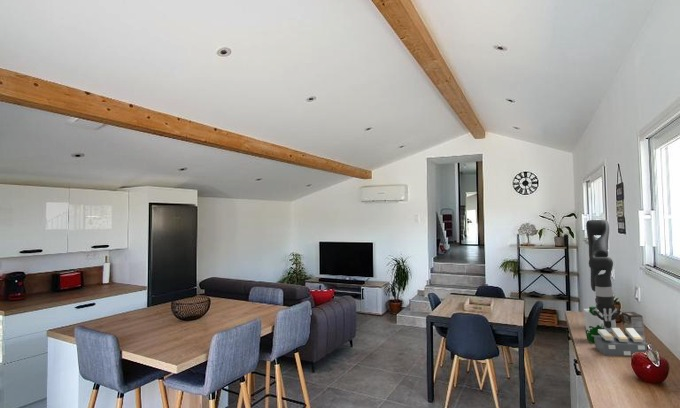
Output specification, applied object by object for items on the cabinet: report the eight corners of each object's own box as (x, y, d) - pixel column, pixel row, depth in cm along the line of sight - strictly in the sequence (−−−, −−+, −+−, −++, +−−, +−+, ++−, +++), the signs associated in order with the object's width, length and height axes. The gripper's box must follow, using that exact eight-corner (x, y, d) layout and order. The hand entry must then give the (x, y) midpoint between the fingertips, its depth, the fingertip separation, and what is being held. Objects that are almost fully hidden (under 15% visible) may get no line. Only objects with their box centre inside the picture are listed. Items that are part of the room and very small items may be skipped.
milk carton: (589, 343, 212) (585, 308, 213) (584, 338, 220) (581, 304, 221) (607, 344, 209) (603, 308, 210) (602, 339, 217) (598, 304, 218)
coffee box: (624, 340, 214) (620, 311, 215) (636, 339, 212) (633, 311, 213) (633, 345, 205) (629, 315, 206) (646, 345, 203) (643, 315, 204)
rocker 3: (625, 330, 201) (625, 327, 200) (632, 330, 200) (633, 327, 199) (634, 342, 191) (634, 339, 191) (642, 342, 190) (642, 339, 190)
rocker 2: (611, 330, 202) (611, 327, 202) (619, 330, 201) (619, 327, 201) (620, 342, 193) (620, 338, 193) (628, 342, 192) (628, 338, 192)
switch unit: (595, 347, 205) (593, 333, 206) (637, 347, 200) (635, 334, 201) (605, 355, 193) (603, 341, 193) (650, 356, 187) (648, 341, 188)
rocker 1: (598, 332, 204) (597, 329, 204) (605, 332, 203) (605, 329, 203) (605, 340, 194) (605, 336, 194) (613, 340, 193) (613, 336, 193)
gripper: (615, 293, 198) (619, 325, 197) (587, 293, 201) (591, 325, 200) (622, 296, 190) (626, 330, 189) (592, 296, 194) (596, 329, 193)
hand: (608, 327), depth 195 cm, fingers closed
